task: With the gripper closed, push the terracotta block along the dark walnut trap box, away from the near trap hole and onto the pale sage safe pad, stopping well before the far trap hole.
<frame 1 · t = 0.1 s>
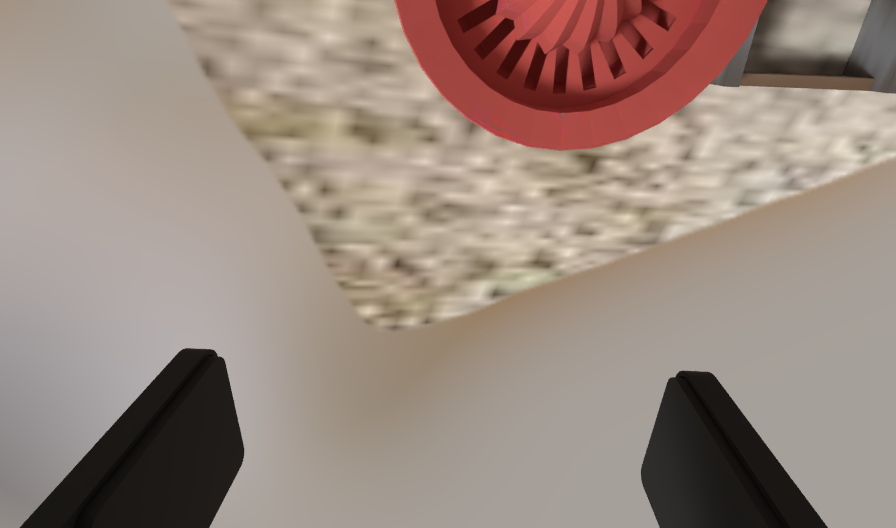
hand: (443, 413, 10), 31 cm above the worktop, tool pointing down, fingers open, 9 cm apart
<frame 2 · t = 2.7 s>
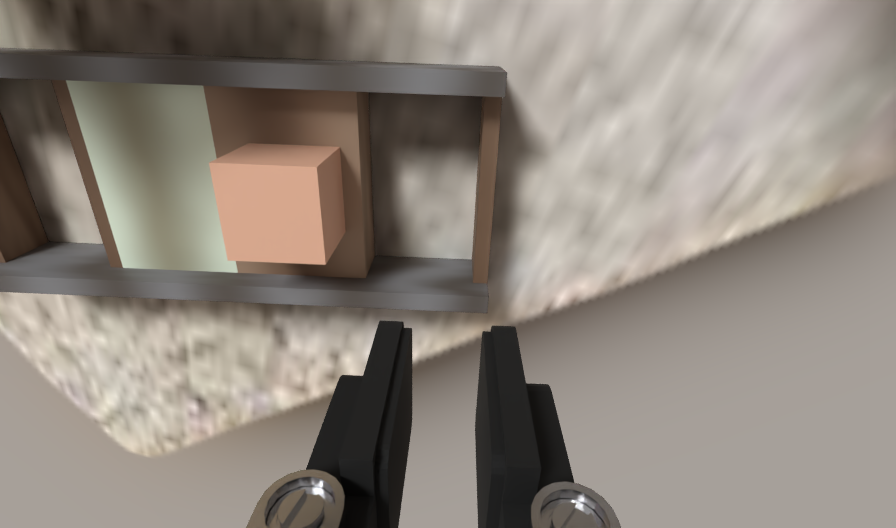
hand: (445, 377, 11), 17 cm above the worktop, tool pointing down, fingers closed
trap box: (246, 171, 27), on the worktop
terracotta block: (299, 189, 24), point 3 cm above the worktop, touching trap box
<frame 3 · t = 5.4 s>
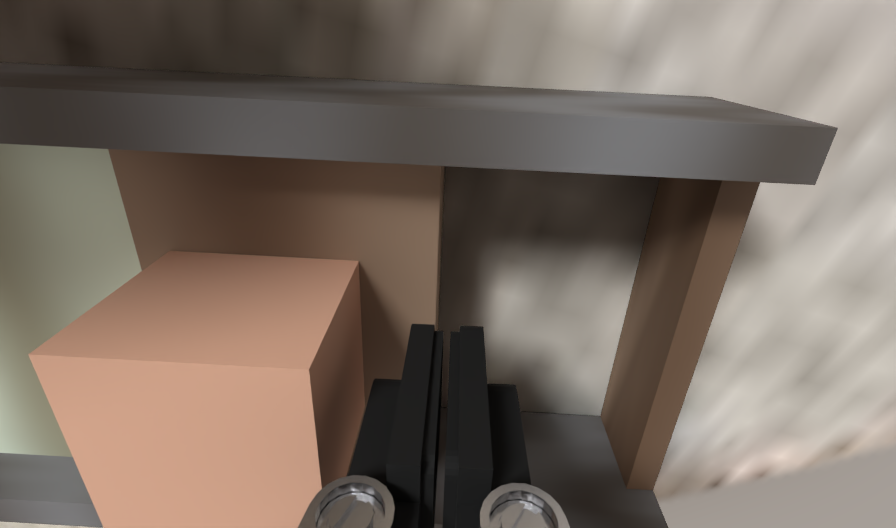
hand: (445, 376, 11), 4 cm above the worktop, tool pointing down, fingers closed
trap box: (213, 274, 15), on the worktop
terracotta block: (275, 334, 12), point 3 cm above the worktop, touching gripper
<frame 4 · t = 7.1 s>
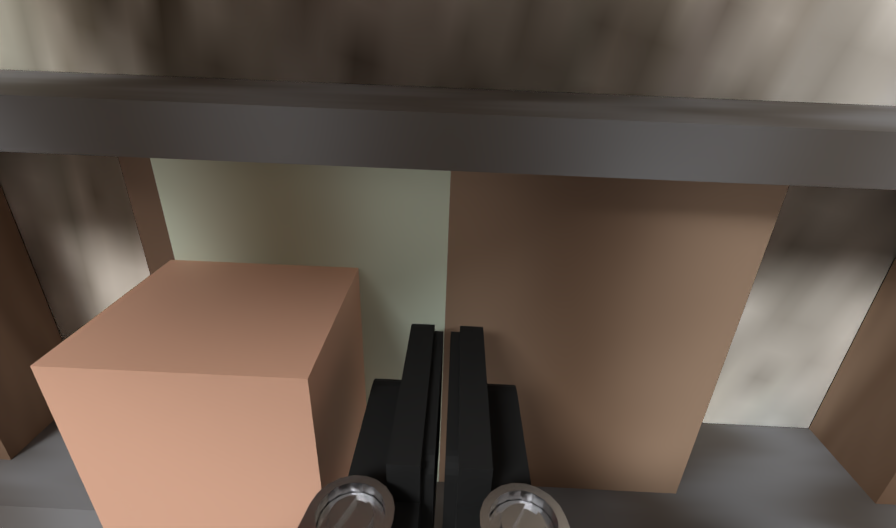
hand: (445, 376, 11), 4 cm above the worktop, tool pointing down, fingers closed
trap box: (447, 290, 15), on the worktop
terracotta block: (276, 341, 12), point 3 cm above the worktop, touching gripper, trap box
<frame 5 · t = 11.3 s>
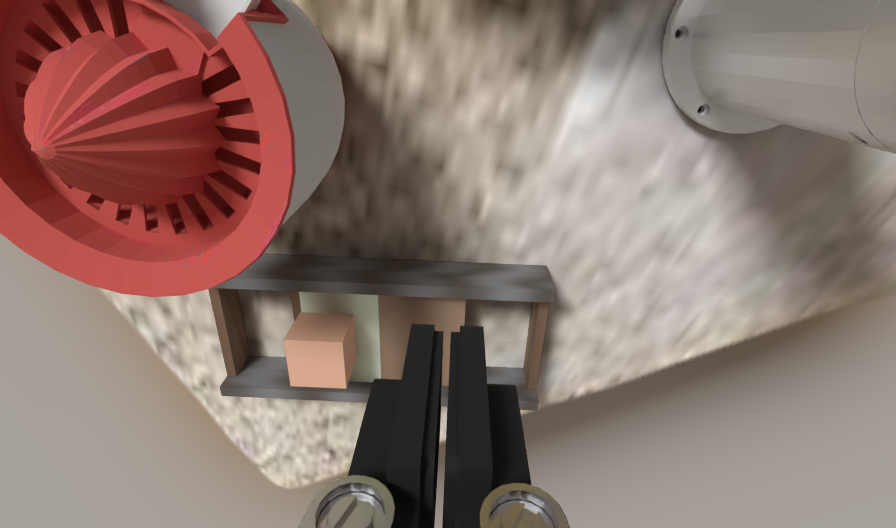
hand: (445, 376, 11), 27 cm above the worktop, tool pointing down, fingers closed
trap box: (384, 318, 42), on the worktop
terracotta block: (329, 335, 40), point 3 cm above the worktop, touching trap box
citrus juicer: (269, 80, 34), on the worktop
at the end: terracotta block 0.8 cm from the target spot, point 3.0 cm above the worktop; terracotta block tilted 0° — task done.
